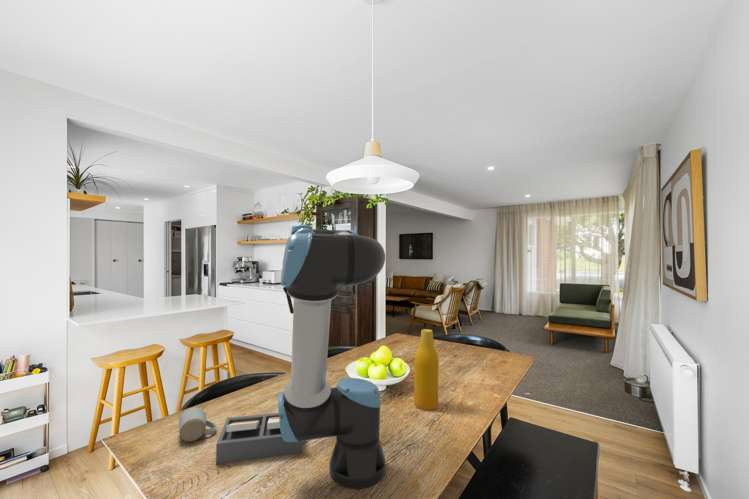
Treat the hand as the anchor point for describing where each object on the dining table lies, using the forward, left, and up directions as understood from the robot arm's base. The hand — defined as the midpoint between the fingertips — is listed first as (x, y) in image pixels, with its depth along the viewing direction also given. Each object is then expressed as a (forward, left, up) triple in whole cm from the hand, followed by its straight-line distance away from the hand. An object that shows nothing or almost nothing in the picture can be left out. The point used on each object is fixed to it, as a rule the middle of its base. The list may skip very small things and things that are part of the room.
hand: (300, 332), depth 121 cm
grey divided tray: (-17, +11, -29) cm, 36 cm away
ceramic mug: (-7, +32, -30) cm, 44 cm away
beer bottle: (-3, -48, -30) cm, 56 cm away
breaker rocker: (-17, +17, -23) cm, 33 cm away
